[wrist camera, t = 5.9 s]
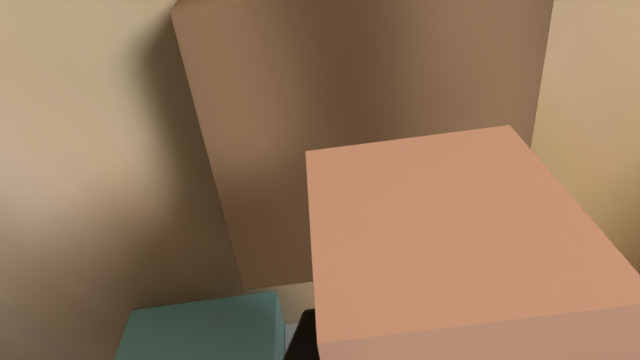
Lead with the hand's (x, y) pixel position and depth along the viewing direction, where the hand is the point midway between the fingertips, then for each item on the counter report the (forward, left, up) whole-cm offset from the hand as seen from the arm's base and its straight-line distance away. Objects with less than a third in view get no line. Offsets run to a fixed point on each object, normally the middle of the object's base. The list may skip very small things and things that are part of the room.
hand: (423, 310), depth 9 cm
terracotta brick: (0, 0, -1) cm, 1 cm away
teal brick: (+7, +9, -8) cm, 14 cm away
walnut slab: (0, 0, -9) cm, 9 cm away
